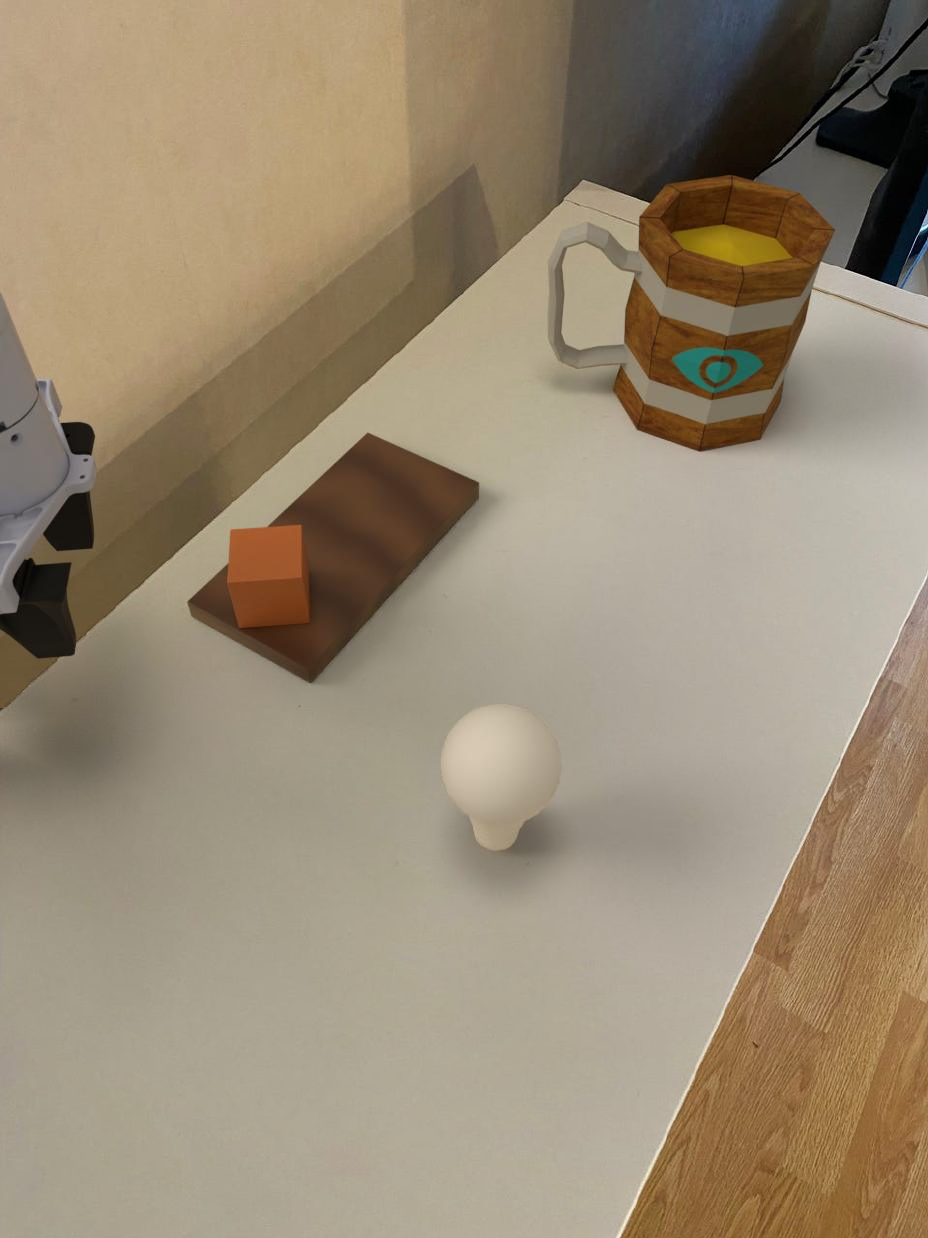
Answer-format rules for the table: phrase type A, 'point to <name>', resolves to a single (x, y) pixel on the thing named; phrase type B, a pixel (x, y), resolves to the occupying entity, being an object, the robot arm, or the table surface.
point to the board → (350, 549)
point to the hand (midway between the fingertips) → (66, 596)
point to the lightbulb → (500, 770)
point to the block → (269, 576)
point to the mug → (704, 307)
